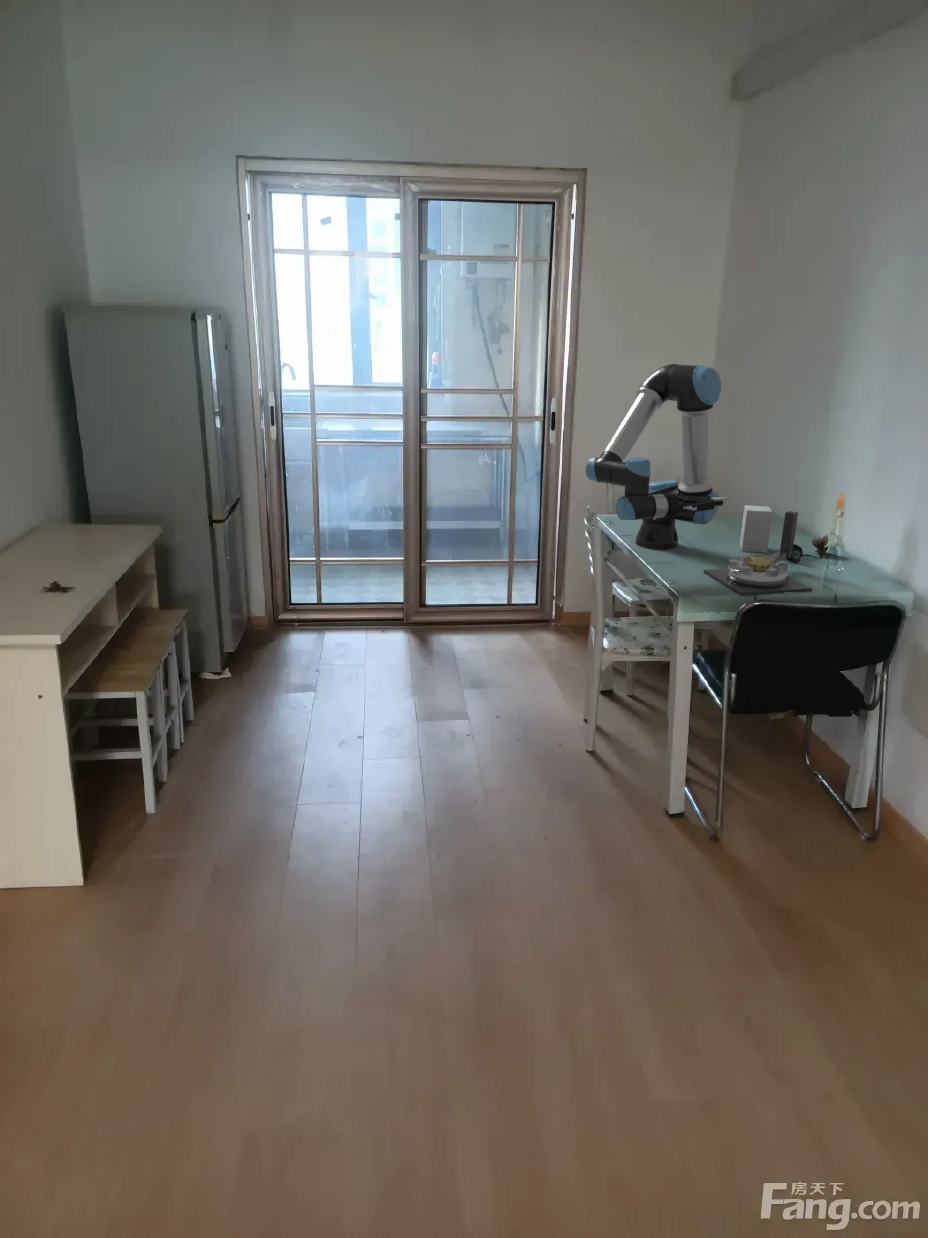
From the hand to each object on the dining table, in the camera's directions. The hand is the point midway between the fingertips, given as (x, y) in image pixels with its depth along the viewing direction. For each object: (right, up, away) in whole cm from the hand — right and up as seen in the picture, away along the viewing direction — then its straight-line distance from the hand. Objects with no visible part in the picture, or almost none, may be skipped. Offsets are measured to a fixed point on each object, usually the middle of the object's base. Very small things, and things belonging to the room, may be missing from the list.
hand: (729, 501), depth 290 cm
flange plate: (+6, -27, -8) cm, 28 cm away
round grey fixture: (+10, -24, -4) cm, 26 cm away
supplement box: (+17, -13, +30) cm, 37 cm away
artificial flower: (+34, -18, +20) cm, 43 cm away
